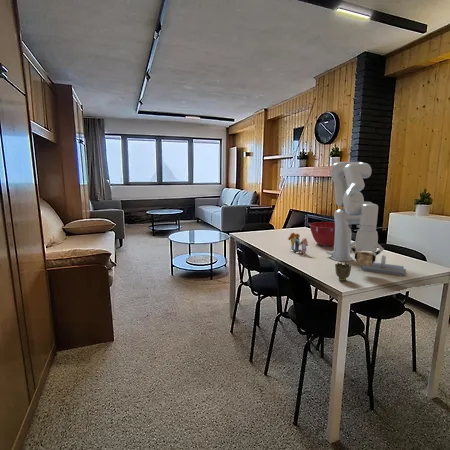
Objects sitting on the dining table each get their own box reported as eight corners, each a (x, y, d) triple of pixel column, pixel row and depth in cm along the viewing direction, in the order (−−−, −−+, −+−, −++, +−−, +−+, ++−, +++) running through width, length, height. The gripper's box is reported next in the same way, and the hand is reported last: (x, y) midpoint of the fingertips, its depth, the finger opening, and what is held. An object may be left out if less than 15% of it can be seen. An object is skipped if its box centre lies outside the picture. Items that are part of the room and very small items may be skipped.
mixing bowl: (300, 244, 221) (301, 224, 219) (321, 238, 240) (322, 220, 237) (335, 251, 200) (337, 229, 198) (354, 244, 219) (356, 224, 216)
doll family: (308, 255, 189) (309, 235, 187) (294, 256, 188) (295, 236, 186) (296, 247, 210) (297, 230, 208) (284, 248, 209) (284, 230, 207)
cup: (333, 281, 142) (334, 266, 141) (334, 277, 149) (335, 262, 147) (350, 283, 139) (351, 267, 138) (350, 279, 146) (351, 263, 144)
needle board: (361, 270, 159) (362, 256, 158) (363, 263, 171) (364, 250, 170) (404, 276, 149) (405, 261, 148) (403, 268, 161) (404, 254, 160)
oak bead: (356, 263, 149) (357, 254, 148) (357, 259, 155) (358, 250, 154) (371, 265, 146) (372, 256, 145) (372, 261, 152) (373, 252, 151)
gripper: (348, 227, 148) (345, 261, 151) (387, 231, 139) (383, 266, 143) (350, 225, 154) (347, 257, 158) (387, 228, 146) (383, 262, 149)
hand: (364, 261), depth 150 cm, fingers closed on oak bead, 7 cm apart
